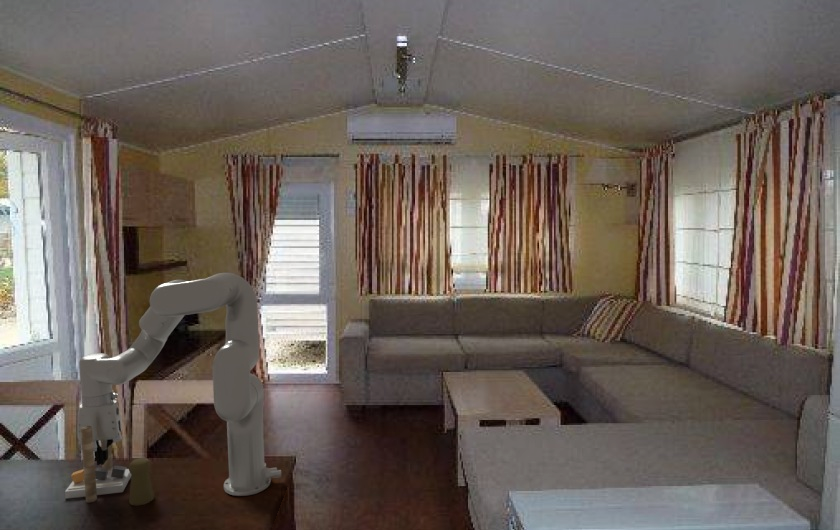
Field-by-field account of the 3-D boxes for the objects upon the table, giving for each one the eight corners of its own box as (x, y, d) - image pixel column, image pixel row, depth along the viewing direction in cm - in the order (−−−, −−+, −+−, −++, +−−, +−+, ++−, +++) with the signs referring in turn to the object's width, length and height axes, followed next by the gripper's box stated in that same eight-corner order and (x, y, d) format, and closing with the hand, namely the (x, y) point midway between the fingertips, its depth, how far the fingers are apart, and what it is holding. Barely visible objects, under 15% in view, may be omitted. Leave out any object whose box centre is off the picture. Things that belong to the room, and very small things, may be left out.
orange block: (87, 476, 159) (84, 468, 158) (85, 479, 157) (82, 471, 156) (76, 480, 158) (73, 472, 158) (74, 483, 156) (70, 475, 156)
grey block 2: (124, 475, 161) (126, 466, 161) (122, 478, 159) (124, 470, 159) (112, 473, 160) (114, 465, 160) (110, 476, 158) (112, 468, 158)
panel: (131, 475, 165) (131, 467, 165) (122, 492, 155) (122, 484, 155) (78, 480, 162) (77, 473, 162) (65, 498, 152) (64, 490, 152)
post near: (98, 496, 153) (93, 425, 151) (95, 501, 150) (90, 429, 148) (87, 498, 152) (82, 426, 150) (84, 503, 150) (79, 430, 148)
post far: (114, 471, 167) (109, 405, 165) (111, 475, 165) (107, 409, 163) (104, 472, 167) (99, 406, 165) (101, 476, 164) (97, 409, 162)
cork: (144, 506, 148) (141, 466, 147) (123, 504, 149) (121, 464, 148) (159, 494, 154) (156, 456, 153) (139, 492, 155) (137, 454, 154)
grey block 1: (106, 476, 160) (108, 468, 160) (104, 480, 158) (106, 472, 158) (95, 475, 159) (97, 467, 159) (93, 478, 157) (94, 470, 157)
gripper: (130, 392, 161) (134, 454, 163) (72, 396, 158) (76, 459, 160) (123, 401, 154) (127, 466, 156) (62, 406, 151) (66, 472, 153)
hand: (101, 462), depth 158 cm, fingers closed
